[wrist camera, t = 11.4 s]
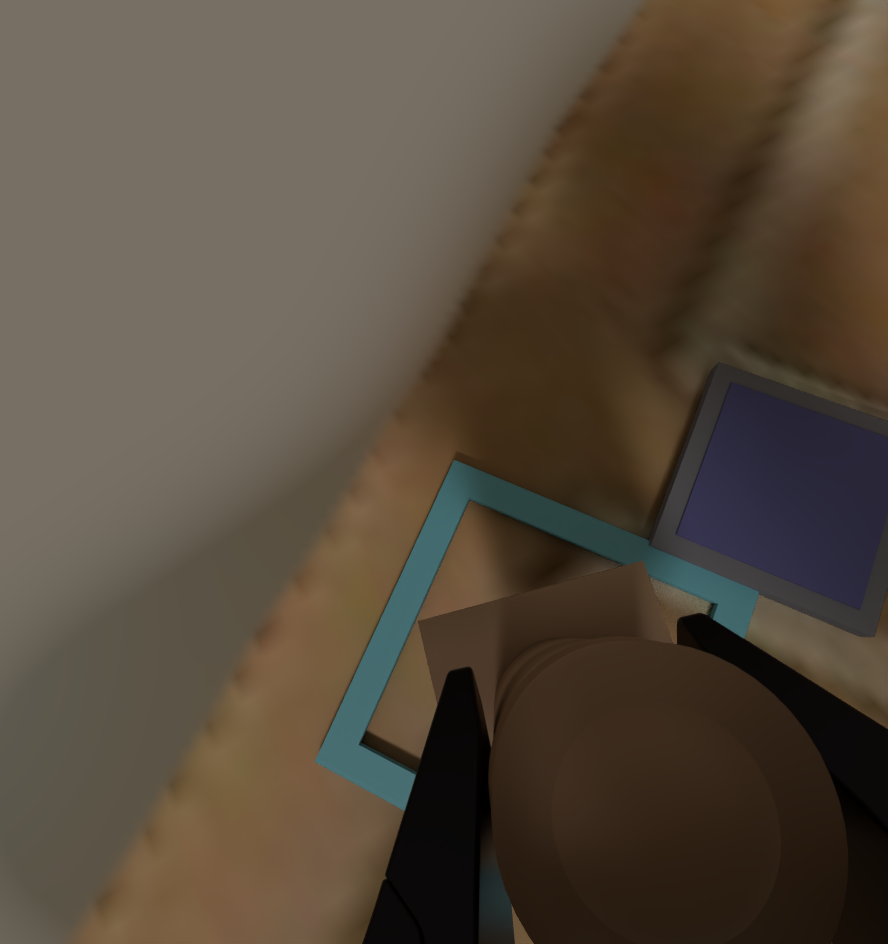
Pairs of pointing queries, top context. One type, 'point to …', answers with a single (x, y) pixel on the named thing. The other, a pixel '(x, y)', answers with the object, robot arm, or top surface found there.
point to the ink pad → (783, 498)
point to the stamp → (642, 775)
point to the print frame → (417, 577)
